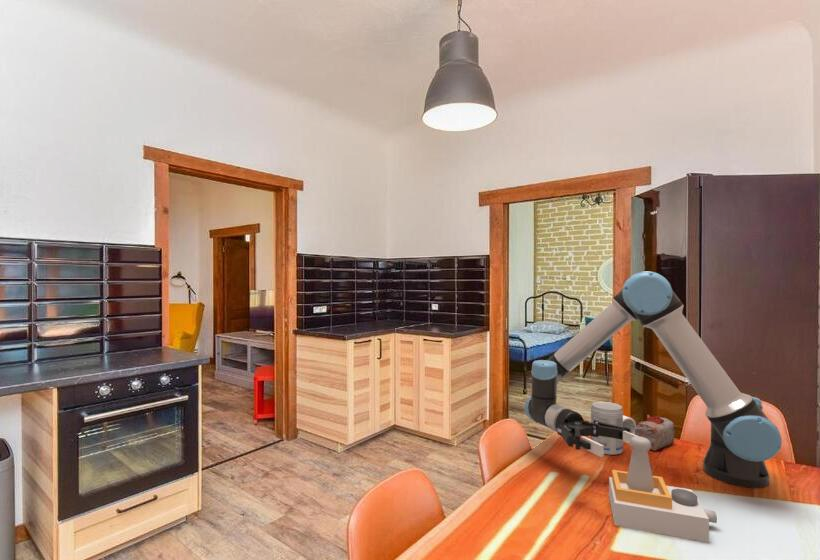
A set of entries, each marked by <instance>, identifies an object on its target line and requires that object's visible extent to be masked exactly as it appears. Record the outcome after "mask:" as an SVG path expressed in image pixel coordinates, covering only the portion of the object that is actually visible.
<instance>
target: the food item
mask: <svg viewBox="0 0 820 560" xmlns="http://www.w3.org/2000/svg"><path fill="white" fill-rule="evenodd" d="M646 416H647V418H646V421H644V420H642V421H640V422H638V424H636V428H635V434H634V435H637V436H639V437H644V438H647V439H648V440H649V441H650V443H651V447H650V450H651V451H653V452H657V451H659V449H662V448H665V447H668V446H670V445H673V444H674V443H675V425H674V422H673V421H672V420H670V419H668V418H665V417H660V416H650V414H647V415H646ZM650 450H649V451H650Z"/></svg>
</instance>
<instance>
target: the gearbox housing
mask: <svg viewBox="0 0 820 560" xmlns="http://www.w3.org/2000/svg"><path fill="white" fill-rule="evenodd" d="M627 475H628V471H622V470H616V469H611V476H609V477H608V499H609V502H610V503H609V504H610V509H611V514H612V518H613V523H614V526H617V527H622V528H626V529H627V528H628V529H632V530H638V531H643V532H648V533H655V534H661V535H665V536H670V537H674V538H675V537H676V538H680V539H681V538H682V539H685V540H686V539H687V540H693V541H698V542H703V543H708V544H709V543H710V523H713V524H717V523H718V518H717V512H716V511H715V510H710V509H704V508H703V506H702V505H701V503H700V502H699V500H698V496H697V495H696V493H694V491H693V490H692V489H690V488H685V487H677V486H673V485H671V486H670V485H666V482H665V480H664V478H663V477H662V476H657V475H652V477H653V482H654V490H653V491H652V493H650V492H643V491H637V490H631V489H629V488H628V486H627V482H626V480H627Z"/></svg>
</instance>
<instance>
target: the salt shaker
mask: <svg viewBox="0 0 820 560" xmlns="http://www.w3.org/2000/svg"><path fill="white" fill-rule="evenodd" d="M629 446H630V447H631V448H632V450H631V451H632V452H631V456H630V461H629V465H628V471H627V472H628V475H627V480H626V482H627V486H628V488H629V489H631V490H637V491H643V492H650V493H652V491H653V490H654V482H653V477H652V476H653V473H652V468H651V467H652V466H651V463H650V457H649V451H650V447H651V443H650V441H649V440H648V439H647V438H644V437H639V436H634V437H632V438H631V440H630V444H629Z"/></svg>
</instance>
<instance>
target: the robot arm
mask: <svg viewBox="0 0 820 560" xmlns="http://www.w3.org/2000/svg"><path fill="white" fill-rule="evenodd" d="M626 279H627V280H626V281H625V282H624V284H623V286H622V288H621V289H620V291H619V292H618V293H617V294H616V295H615V296H613V297H612V300H611V303H610V304H609V305H608V306H607V307H605V309H603V310H602V312H600V313H599V314H597V316H596V317H595V318H592V320H591V321H590V322H589V323H587V324H586V325H585V326H584V327H582V329H580V330H579V331H578V332H577V333H576V334H575V335H574V336H572V338H571V339H569V340H568V341H567V342H566V343H565V344H564V345H562V346H561V347H560V348H559V349H558V350H557V351H555V352H554V354H552V355H551V356H549V357H548V359H545V360H544V359H538V360H537V359H536V360H534V361H533V362H532V365H531V371H530V373H531V396H529V397H528V398H527V399H526V400H525V403H524V406H523V407H524V408H523V409H524V412H525V415H526V416H527V417H528V418H530V419H531V420H533V421H534V422H535V423H537V424H539V425H542V426H544V427H546V428H549V429H550V430H553V431H554V432H556V434H557V435H559V436H560V437H561V438H562V439H563V441H564V442H565V444H566V446H568V447H569V448H571V447H573V446H574V448H575V450H577V451H580V450H581V448H583V450H586V451H588V452H590V453H592V454H594V455H595V456H597V457H600V458H604V454H603V453H604V445H601V444H599V443H597V442H595V441H593V440H591V438H588V437H591V436H594V437H598V436H604V437H610V438H616V439H622V440H623V443H626V444H629V445H630V440H631V438H632V437H634V436H637V435H634V434H632V433H630V429H629V428H627V427H620V426H616V425H611V424H607V423H603V422H600V421H597V420H594V421H593V423H592V422H591V421H588V420H585V419H584V417H583V416H582V415H581V414H580V413H579V412H577V411H575V410H573V409H570V408H568V407H565V406H562V405H560V404H558V403H557V397H558V396H557V390H558V389H557V388H558V387H557V386H558V384H559V382H560V381H561V380H562V379H564V378H565V377H566V376H567V375H568V374H569V373H570V372H571V371H573V370H574V369H575V368H577V366H579V365H580V364H581V363H582V362H583V361H584V360H586V359H587V358H588V357H589V356H591V354H593V353H594V352H595V351H596V350H597V349H599V348H600V347H601V346H603V345H604V344H606V342H607V341H609V340H610V339H611V338H612V337H613V336H614V335H616V334H618V332H619V331H620V330H621V329H623V328H624V327H625V326H626V325H628V324H629V322H631V321H633V322H634V321H635V322H636V321H638V322H639V323H640V324H641V325H642V327H643V328H647V329H650V330H652V331H653V332H654V334H655V335H656V337H657V338H658V340H659V341H660V343H661V344H662V345H663V346H664V348H665V349H666V351H667V353H668V354H669V356H670V357H671V358H672V359H673V361H674V362H675V364H676V365H677V367H678V368H679V370H681V373H683V375H684V377H685V378H686V379H687V380H688V382H689V384H690V385H691V386H692V388H693V389H694V391H695V392H696V393H697V395H698V396H699V397H700V398H701V400H702V402H703V403H704V404H705V406H706V409H705V413H704V415H705V416H706V418H707V419H708V421H709V422H710V444H709V446H708V449H707V451H706V453H705V456H704V458H703V462H702V469H703V470H702V471H704V473H706V474H707V475H709V476H711V478H714V479H717V480H719V481H721V482H724V483H728V484H731V485H735V486H740V487H746V488H765V486H766V487H768V486H769V485H770V474H769V470H768V467H767V465H766V461H768V460H770V459H772V458H774V457H775V456H776V455H777V454H778V453H779V452H780V450H781V448H782V445H783V444H782V443H783V441H782V440H783V439H782V436H781V433H780V430H779V428H778V427H777V425H776V424H775V423H773V422H772V421H771V420H770V419H769V418H768V416H767V415H766V414H765V412H764V411H763V408H764V406H763V402H762V400H761V399H760V398H758V397H756V396H752V395H750V394H748V393H747V394H746V393H743V392H741V391H740V390H739V389H738V386H736V385H735V383H734V382H733V380H732V379H731V377H730V376H728V373H727V372H726V371H725V370H724V368H723V366H721V364H720V363H719V361H718V360H717V359H716V357H715V356H714V354H713V353H712V352H711V351H710V349H709V348H708V347H707V345H706V344H705V342H704V340H703V339H701V337H700V336H699V334H698V333H697V332H696V330H695V329H694V328H693V326H692V325H691V324H690V322H689V321H688V319H687V318H686V317H685V315H684V314H683V311H684V310H683V309H684V303H683V302H682V301H681V300H680V298H679V297H678V296H677V294H676V293H675V292H674V290H673V288H672V285H671V283H670V282H669V281H668V279H666V277H664V276H663V275H661V274H660V273H657V272H654V271H646V270H645V271H638V272H636V273H635V274H632V275H631V276H630V277H628V278H626ZM594 430H595V431H596V434H595V433H594ZM767 485H768V486H767Z"/></svg>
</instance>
